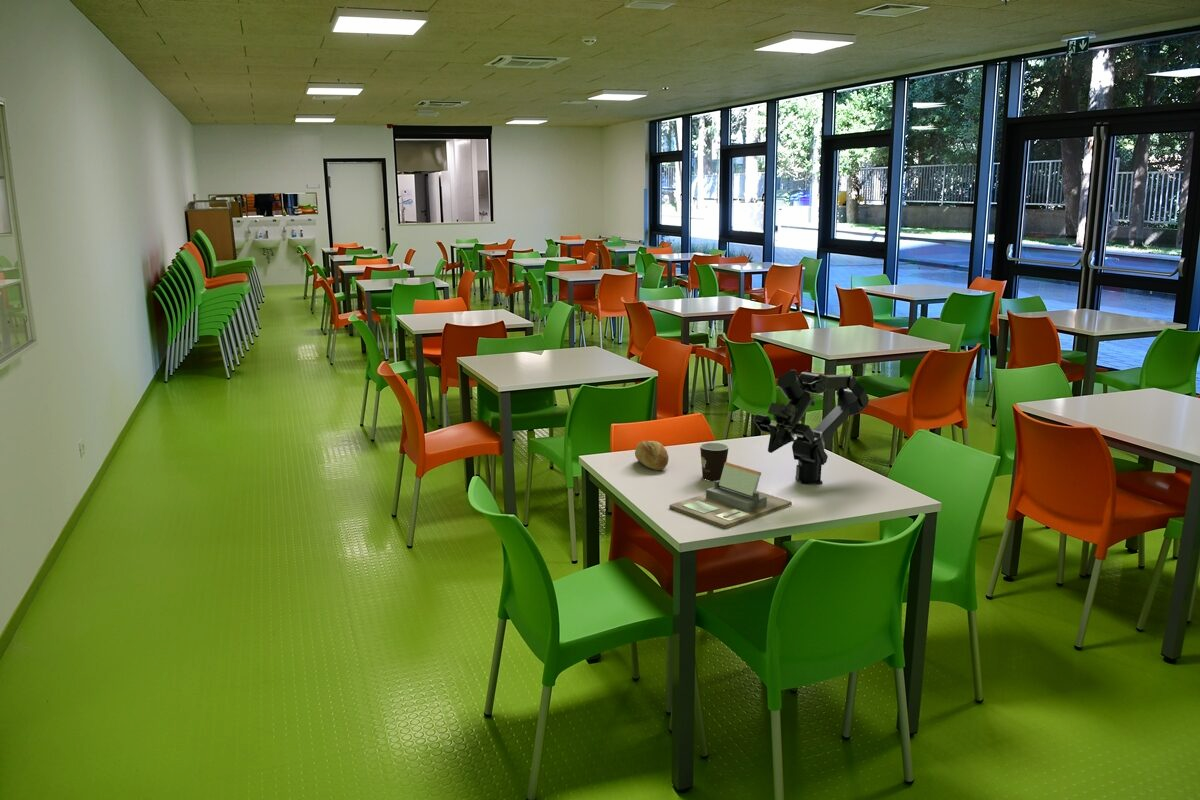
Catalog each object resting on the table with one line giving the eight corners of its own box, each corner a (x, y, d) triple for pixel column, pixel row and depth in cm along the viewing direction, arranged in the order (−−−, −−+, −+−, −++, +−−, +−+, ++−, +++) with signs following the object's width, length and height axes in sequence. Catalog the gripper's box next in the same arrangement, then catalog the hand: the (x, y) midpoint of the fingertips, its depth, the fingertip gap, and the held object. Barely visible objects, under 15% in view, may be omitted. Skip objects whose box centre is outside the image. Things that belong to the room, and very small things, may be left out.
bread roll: (646, 474, 268) (647, 449, 267) (628, 460, 282) (628, 437, 280) (674, 471, 272) (675, 446, 270) (655, 458, 285) (655, 434, 284)
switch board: (736, 487, 256) (737, 470, 255) (791, 505, 241) (792, 487, 240) (669, 508, 238) (669, 490, 237) (724, 528, 224) (725, 509, 222)
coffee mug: (728, 482, 260) (729, 450, 258) (699, 482, 261) (700, 450, 259) (725, 471, 272) (726, 440, 270) (697, 470, 272) (698, 439, 270)
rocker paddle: (720, 486, 245) (726, 462, 246) (755, 498, 236) (762, 472, 236) (717, 486, 245) (723, 461, 245) (752, 497, 235) (759, 472, 235)
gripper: (758, 386, 254) (731, 429, 249) (811, 397, 240) (784, 442, 235) (774, 409, 261) (748, 450, 256) (826, 421, 247) (800, 465, 242)
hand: (769, 451), depth 247 cm, fingers closed
